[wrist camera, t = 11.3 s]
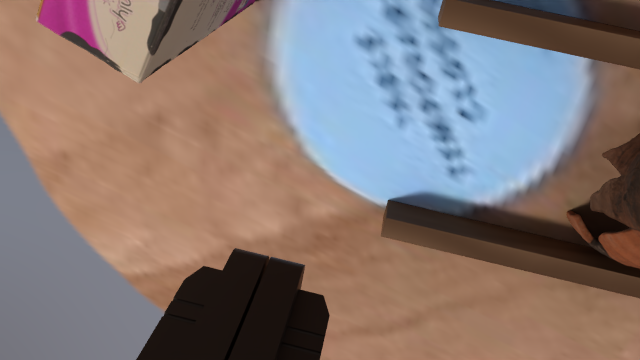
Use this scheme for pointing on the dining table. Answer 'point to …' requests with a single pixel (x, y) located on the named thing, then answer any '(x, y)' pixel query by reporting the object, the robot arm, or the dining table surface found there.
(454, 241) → the bay
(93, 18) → the candy bar box
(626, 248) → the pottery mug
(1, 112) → the dining table surface
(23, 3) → the dining table surface
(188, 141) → the dining table surface
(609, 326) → the dining table surface
